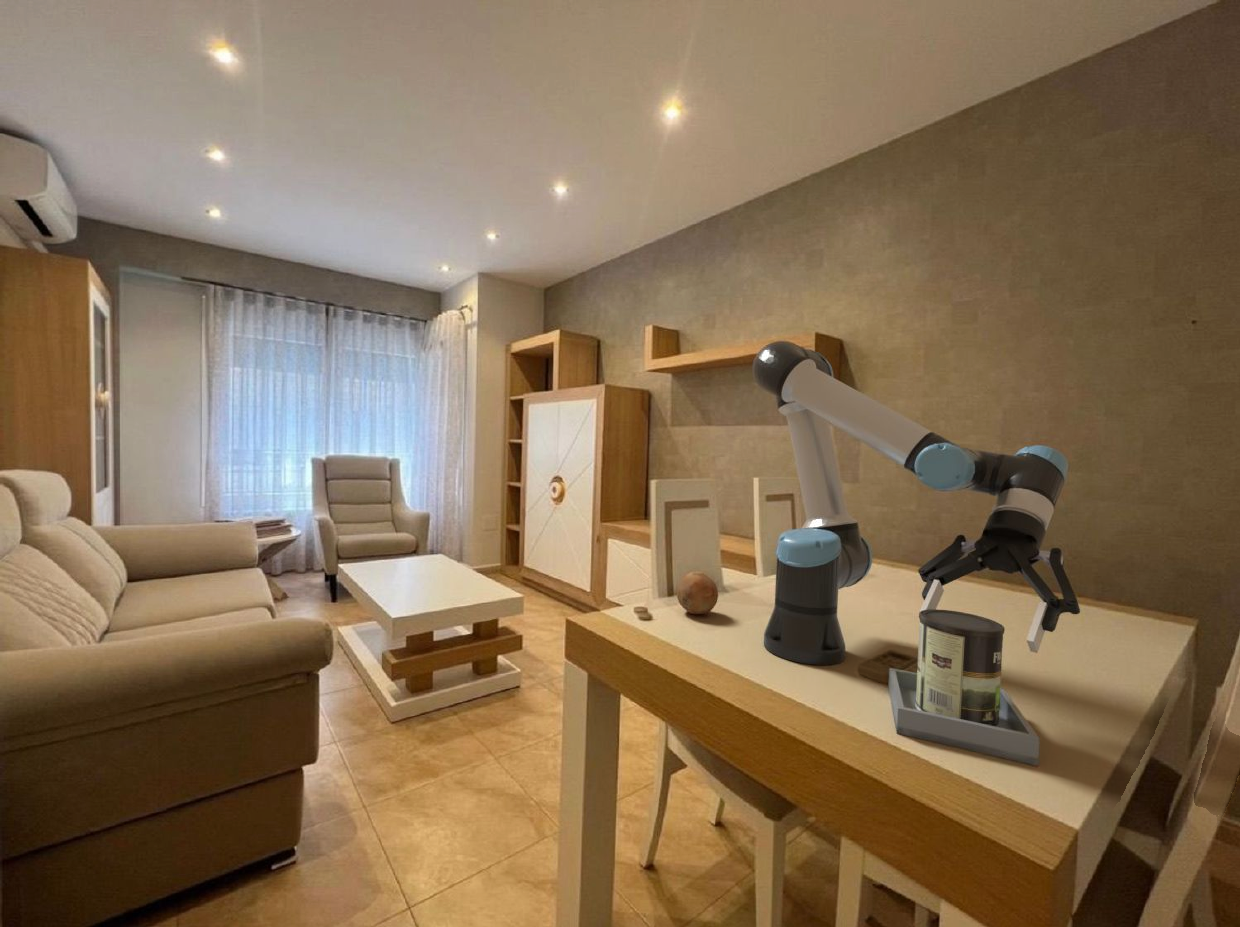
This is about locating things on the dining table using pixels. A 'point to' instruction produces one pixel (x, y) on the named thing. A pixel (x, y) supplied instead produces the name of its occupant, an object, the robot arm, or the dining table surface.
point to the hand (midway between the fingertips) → (974, 631)
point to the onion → (697, 593)
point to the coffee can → (959, 666)
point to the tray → (963, 724)
